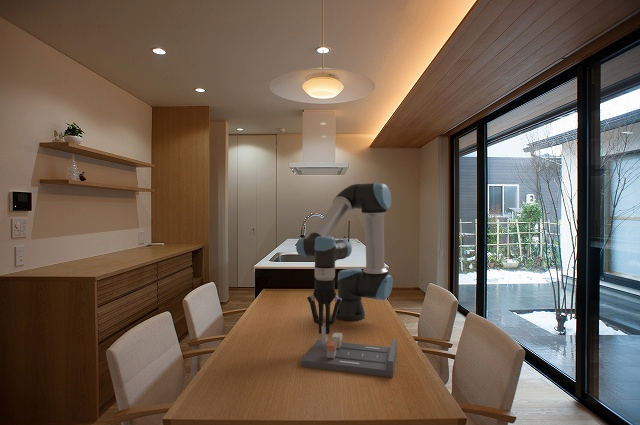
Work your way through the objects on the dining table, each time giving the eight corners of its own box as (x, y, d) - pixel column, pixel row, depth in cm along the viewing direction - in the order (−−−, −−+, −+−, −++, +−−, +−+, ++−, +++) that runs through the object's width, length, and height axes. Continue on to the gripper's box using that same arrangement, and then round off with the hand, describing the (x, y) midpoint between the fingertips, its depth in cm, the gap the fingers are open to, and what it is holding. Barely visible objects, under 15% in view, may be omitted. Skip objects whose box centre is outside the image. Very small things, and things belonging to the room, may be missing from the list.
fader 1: (328, 352, 130) (328, 340, 130) (337, 353, 129) (337, 341, 129) (325, 357, 126) (325, 345, 126) (334, 358, 125) (334, 346, 125)
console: (317, 345, 144) (317, 332, 144) (396, 353, 136) (396, 339, 136) (301, 366, 124) (301, 351, 124) (392, 377, 117) (393, 361, 117)
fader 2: (334, 343, 139) (334, 332, 139) (342, 344, 138) (342, 333, 138) (331, 348, 134) (331, 336, 134) (339, 349, 134) (340, 337, 134)
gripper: (304, 279, 135) (304, 344, 135) (339, 281, 132) (339, 348, 132) (310, 275, 142) (310, 337, 143) (344, 277, 139) (343, 340, 139)
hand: (324, 342), depth 137 cm, fingers closed
